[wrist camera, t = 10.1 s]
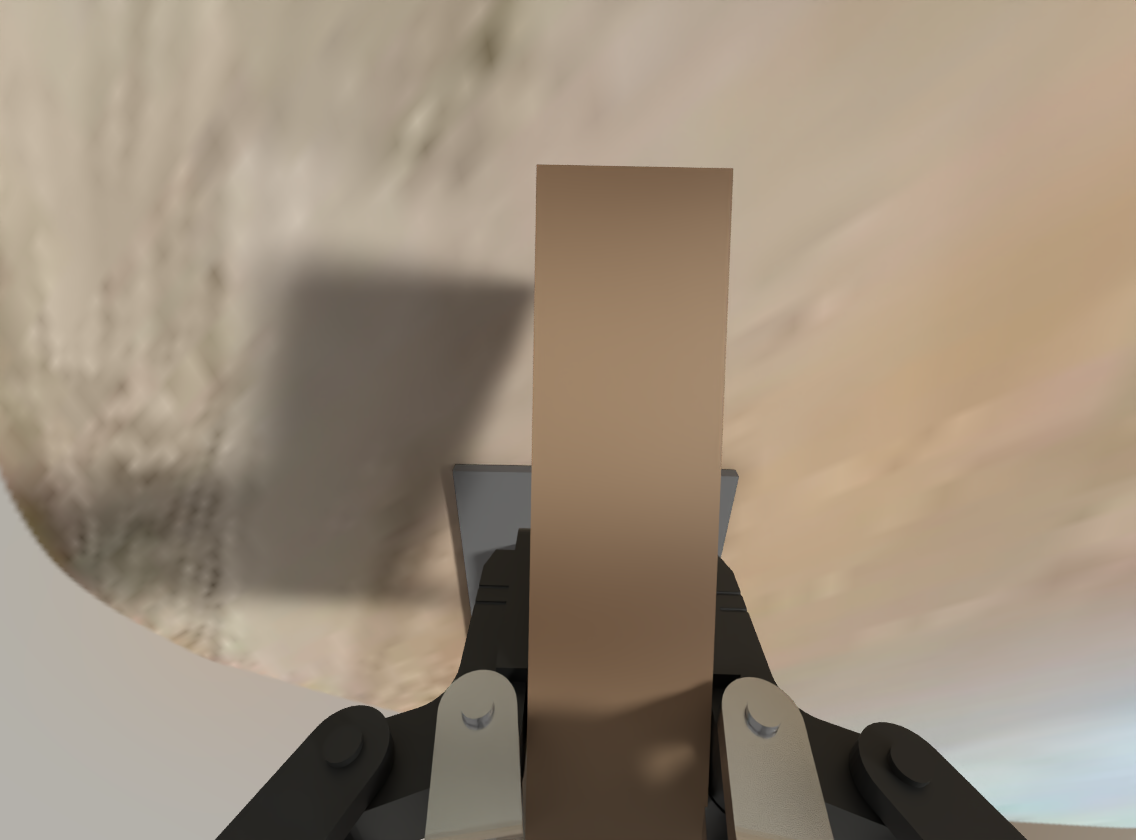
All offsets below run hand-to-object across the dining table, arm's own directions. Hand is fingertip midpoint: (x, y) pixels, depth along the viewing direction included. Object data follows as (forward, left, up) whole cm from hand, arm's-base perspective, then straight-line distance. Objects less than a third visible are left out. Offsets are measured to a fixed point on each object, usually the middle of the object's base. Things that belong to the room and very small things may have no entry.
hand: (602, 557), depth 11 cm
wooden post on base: (0, 0, -2) cm, 2 cm away
